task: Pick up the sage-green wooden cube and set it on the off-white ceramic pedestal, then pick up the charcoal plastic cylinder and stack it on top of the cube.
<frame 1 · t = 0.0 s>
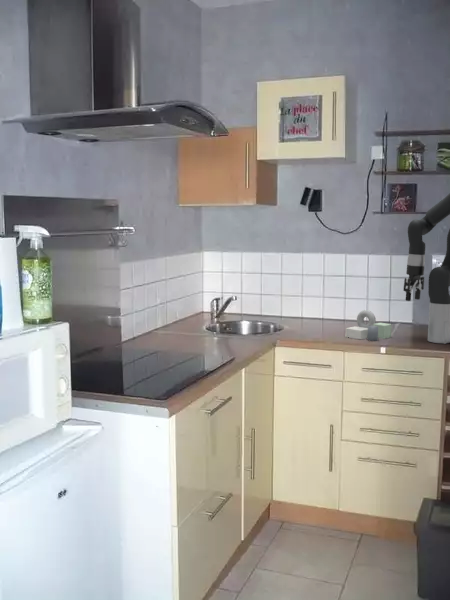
hand: (412, 300, 294), 17 cm above the countertop, tool pointing down, fingers open, 8 cm apart
ceramic pedestal: (357, 337, 295), on the countertop
sage cube: (381, 337, 297), on the countertop
charcoal cylinder: (372, 339, 289), on the countertop
donut: (365, 330, 313), on the countertop
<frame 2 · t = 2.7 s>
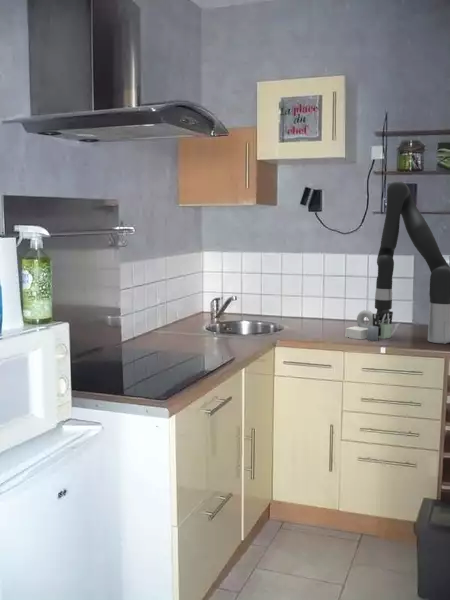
hand: (381, 334, 297), 1 cm above the countertop, tool pointing down, fingers closed on sage cube, 6 cm apart
sage cube: (381, 337, 297), on the countertop, touching gripper
everything else where it was.
when the fingers open (6 cm above the countertop, at t = 7.7 s): sage cube stays where it is, resting on ceramic pedestal.
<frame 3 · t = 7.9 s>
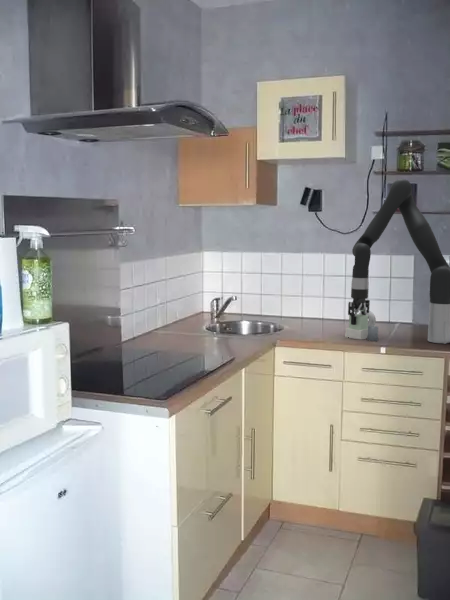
hand: (358, 323, 294), 6 cm above the countertop, tool pointing down, fingers open, 7 cm apart
sage cube: (358, 328, 295), point 4 cm above the countertop, touching ceramic pedestal
everything else where it was.
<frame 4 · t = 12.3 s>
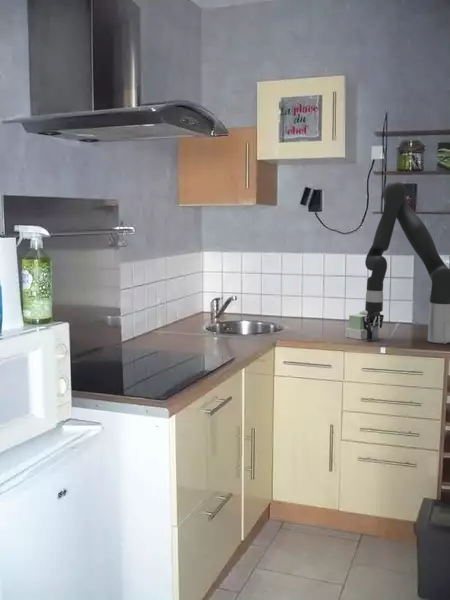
hand: (372, 338, 289), 1 cm above the countertop, tool pointing down, fingers closed on charcoal cylinder, 4 cm apart
charcoal cylinder: (372, 339, 289), on the countertop, touching gripper
everything else where it was.
when the fingers open (12 cm above the countertop, at t = 17.8 s): charcoal cylinder stays where it is, resting on sage cube.
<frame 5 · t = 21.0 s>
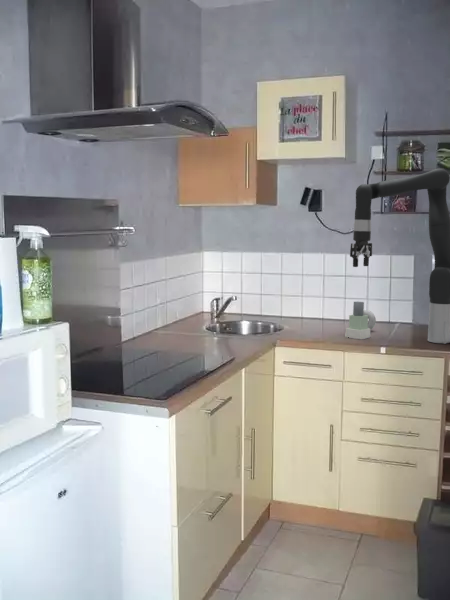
hand: (360, 266, 291), 32 cm above the countertop, tool pointing down, fingers open, 8 cm apart
sage cube: (358, 328, 295), point 4 cm above the countertop, touching ceramic pedestal, charcoal cylinder
charcoal cylinder: (358, 315, 294), point 10 cm above the countertop, touching sage cube
everything else where it was.
at the end: sage cube 0.0 cm off-centre on the ceramic pedestal, point 4.0 cm above the ceramic pedestal's base; charcoal cylinder 0.2 cm off-centre on the sage cube, point 6.0 cm above the sage cube's base; charcoal cylinder tilted 0° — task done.
